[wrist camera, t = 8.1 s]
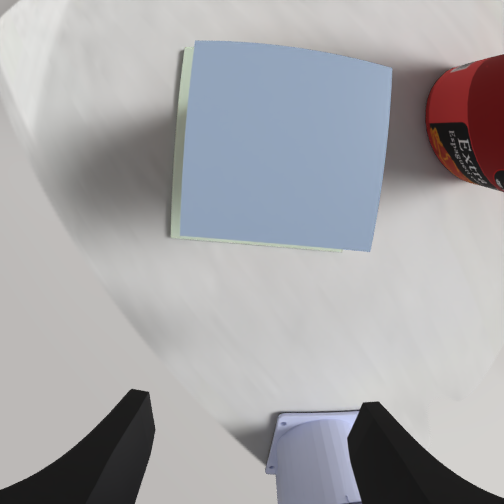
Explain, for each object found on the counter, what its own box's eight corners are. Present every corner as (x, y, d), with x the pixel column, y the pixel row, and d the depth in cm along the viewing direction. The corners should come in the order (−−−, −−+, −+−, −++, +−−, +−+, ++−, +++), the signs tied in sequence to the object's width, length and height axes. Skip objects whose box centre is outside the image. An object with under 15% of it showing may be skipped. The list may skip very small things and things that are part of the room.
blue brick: (329, 214, 13) (369, 252, 8) (205, 202, 12) (180, 235, 8) (342, 93, 11) (392, 68, 7) (215, 78, 11) (195, 40, 6)
